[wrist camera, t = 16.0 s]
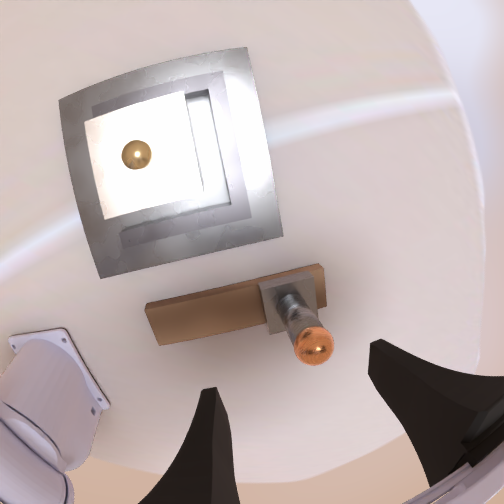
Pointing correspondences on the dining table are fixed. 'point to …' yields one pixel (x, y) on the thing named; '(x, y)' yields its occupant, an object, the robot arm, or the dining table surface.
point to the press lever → (296, 316)
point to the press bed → (210, 155)
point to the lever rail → (218, 309)
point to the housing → (144, 155)
